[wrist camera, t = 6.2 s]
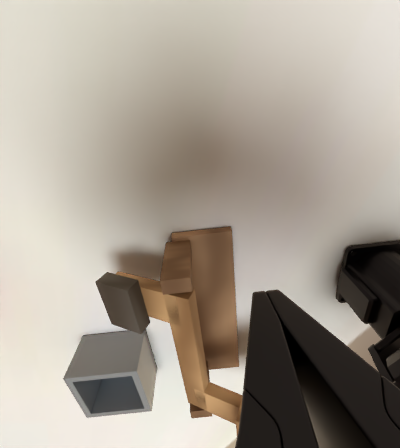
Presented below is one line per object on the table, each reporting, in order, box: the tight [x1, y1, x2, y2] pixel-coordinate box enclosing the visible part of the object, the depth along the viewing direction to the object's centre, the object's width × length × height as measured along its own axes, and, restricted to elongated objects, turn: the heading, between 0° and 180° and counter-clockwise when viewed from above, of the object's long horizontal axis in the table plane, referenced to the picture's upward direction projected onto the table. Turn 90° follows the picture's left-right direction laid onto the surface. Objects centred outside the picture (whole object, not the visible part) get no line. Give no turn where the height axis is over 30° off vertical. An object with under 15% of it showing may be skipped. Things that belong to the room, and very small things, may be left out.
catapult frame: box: [160, 227, 239, 418], centre depth 22 cm, size 6×18×6 cm, turn 6°
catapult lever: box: [96, 272, 242, 435], centre depth 19 cm, size 17×16×3 cm
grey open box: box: [63, 330, 157, 418], centre depth 25 cm, size 7×7×4 cm
